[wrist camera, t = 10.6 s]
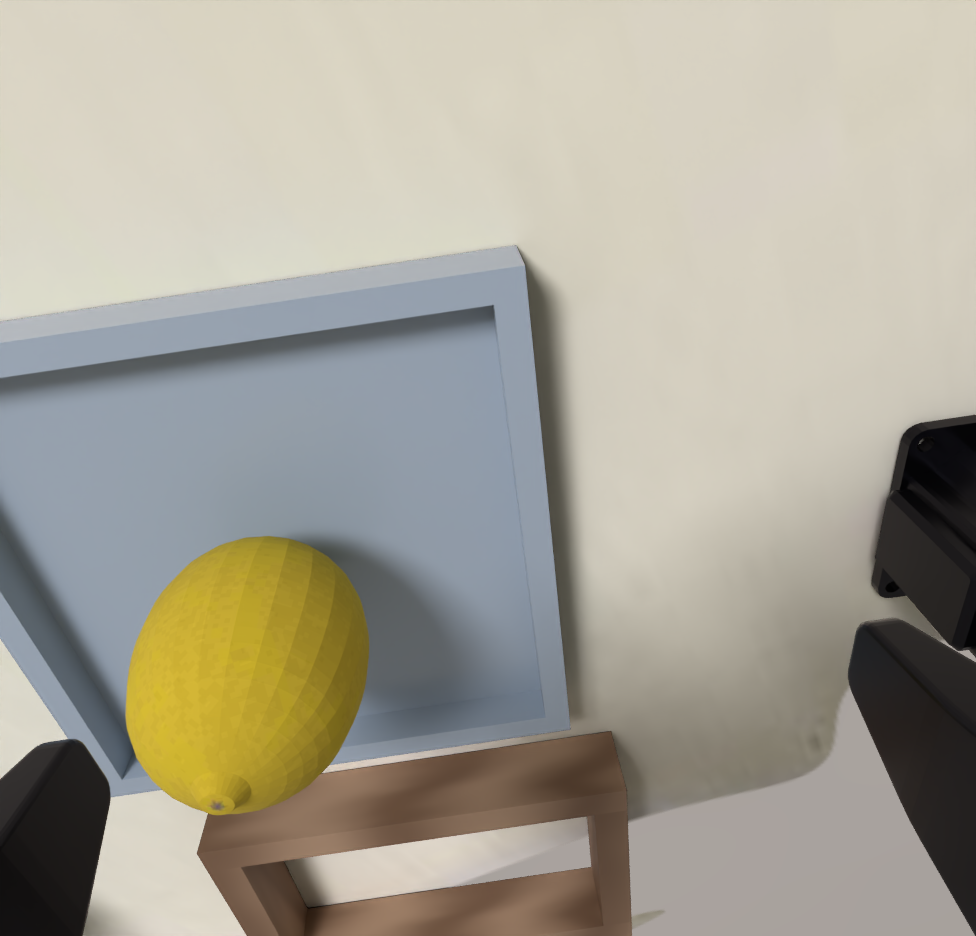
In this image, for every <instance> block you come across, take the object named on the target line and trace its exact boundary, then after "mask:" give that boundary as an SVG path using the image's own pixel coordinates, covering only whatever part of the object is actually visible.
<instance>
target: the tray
mask: <svg viewBox="0 0 976 936" xmlns="http://www.w3.org/2000/svg"><path fill="white" fill-rule="evenodd" d="M261 536H274V537H282V538H289V539H292V540H295V541H298V542H301V543H304V544H307V545H309V546H311V547H313V548H314V549H316V550H318V551H319V552H321V553H323V554H325V555H326V556H328V557H329V558H330V559H331V560H332V561H333V562H334V563H335V564H336V565H337V566H338V567H340V568H341V569H342V570H343V572H344V573H345V574H346V575H347V577H348V578H349V580H350V582H351V583H352V585H353V587H354V588H355V590H356V592H357V594H358V596H359V598H360V600H361V603H362V606H363V611H364V615H365V619H366V623H367V628H368V634H369V660H368V670H367V678H366V685H365V690H364V694H363V698H362V701H361V704H360V707H359V710H358V713H357V715H356V718H355V720H354V722H353V725H352V727H351V729H350V731H349V733H348V735H347V737H346V739H345V741H344V743H343V745H342V747H341V749H340V751H339V752H338V754H337V755H336V757H335V758H334V760H333V761H332V762H331V764H330V765H333V764H340V763H347V762H354V761H360V760H367V759H374V758H381V757H388V756H394V755H401V754H408V753H415V752H422V751H428V750H435V749H442V748H449V747H456V746H462V745H469V744H476V743H483V742H489V741H496V740H503V739H510V738H517V737H523V736H530V735H537V734H544V733H551V732H557V731H564V730H571V728H570V718H569V708H568V698H567V688H566V677H565V667H564V657H563V647H562V637H561V627H560V617H559V606H558V596H557V586H556V576H555V566H554V556H553V545H552V535H551V525H550V515H549V505H548V495H547V484H546V474H545V464H544V454H543V444H542V434H541V423H540V413H539V403H538V393H537V383H536V373H535V362H534V352H533V342H532V332H531V322H530V312H529V301H528V291H527V281H526V271H525V264H524V262H523V260H522V257H521V255H520V253H519V251H518V248H517V246H516V245H514V246H507V247H500V248H494V249H487V250H480V251H473V252H466V253H460V254H453V255H446V256H439V257H433V258H426V259H419V260H412V261H406V262H399V263H392V264H385V265H379V266H372V267H365V268H358V269H352V270H345V271H338V272H331V273H325V274H318V275H311V276H304V277H298V278H291V279H284V280H277V281H271V282H264V283H257V284H250V285H244V286H237V287H230V288H223V289H216V290H210V291H203V292H196V293H189V294H183V295H176V296H169V297H162V298H156V299H149V300H142V301H135V302H129V303H122V304H115V305H108V306H102V307H95V308H88V309H81V310H75V311H68V312H61V313H54V314H48V315H41V316H34V317H27V318H21V319H14V320H7V321H0V639H1V640H2V642H3V643H4V645H5V646H6V648H7V649H8V651H9V652H10V654H11V655H12V657H13V658H14V660H15V661H16V662H17V664H18V665H19V667H20V668H21V670H22V671H23V673H24V674H25V676H26V677H27V679H28V680H29V682H30V683H31V685H32V686H33V688H34V689H35V690H36V692H37V693H38V695H39V696H40V698H41V699H42V701H43V702H44V704H45V705H46V707H47V708H48V710H49V711H50V713H51V714H52V716H53V717H54V719H55V720H56V721H57V723H58V724H59V726H60V727H61V729H62V730H63V732H64V733H65V735H66V736H67V738H68V739H77V740H79V741H81V742H83V744H84V745H85V746H86V747H87V749H88V750H89V752H90V753H91V755H92V756H93V758H94V759H95V761H96V762H97V764H98V766H99V767H100V769H101V770H102V772H103V773H104V775H105V776H106V778H107V780H108V782H109V786H110V792H111V797H116V796H123V795H130V794H136V793H143V792H150V791H157V790H162V789H161V788H160V787H158V786H157V785H156V784H155V783H154V782H153V781H152V779H151V778H150V777H149V775H148V774H147V773H146V771H145V770H144V769H143V767H142V766H141V764H140V763H139V761H138V760H137V758H136V755H135V752H134V749H133V746H132V743H131V740H130V737H129V734H128V731H127V725H126V694H127V680H128V672H129V666H130V662H131V657H132V653H133V650H134V646H135V644H136V641H137V639H138V636H139V634H140V631H141V629H142V627H143V625H144V623H145V621H146V619H147V617H148V615H149V613H150V611H151V609H152V607H153V605H154V603H155V602H156V600H157V599H158V597H159V596H160V594H161V593H162V592H163V590H164V589H165V588H166V587H167V586H168V584H169V583H170V582H171V581H172V580H173V579H174V578H175V577H176V576H177V575H178V574H179V573H180V572H181V571H182V570H183V569H184V568H185V567H186V566H187V565H188V564H189V563H191V562H192V561H193V560H195V559H196V558H198V557H199V556H201V555H203V554H205V553H206V552H208V551H210V550H212V549H213V548H215V547H217V546H219V545H222V544H224V543H228V542H231V541H235V540H238V539H242V538H246V537H261Z"/></svg>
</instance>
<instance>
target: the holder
mask: <svg viewBox="0 0 976 936" xmlns="http://www.w3.org/2000/svg"><path fill="white" fill-rule="evenodd" d="M585 816H587V821H588V833H589V844H590V855H591V867H588V868H581V869H574V870H568V871H561V872H554V873H548V874H540V875H534V876H527V877H520V878H513V879H506V880H500V881H493V882H486V883H479V884H472V885H466V886H459V887H452V888H445V889H438V890H432V891H425V892H418V893H411V894H404V895H398V896H391V897H384V898H377V899H370V900H364V901H357V902H350V903H343V904H336V905H330V906H323V907H316V908H309V909H307V907H306V905H305V903H304V901H303V899H302V897H301V895H300V893H299V891H298V889H297V887H296V885H295V883H294V881H293V879H292V877H291V875H290V873H289V871H288V869H287V867H286V865H285V863H284V861H286V860H293V859H300V858H306V857H313V856H320V855H327V854H334V853H340V852H347V851H354V850H361V849H368V848H374V847H381V846H388V845H395V844H402V843H408V842H415V841H422V840H429V839H436V838H442V837H449V836H456V835H463V834H470V833H476V832H483V831H490V830H497V829H503V828H510V827H517V826H524V825H531V824H537V823H544V822H551V821H558V820H565V819H571V818H578V817H585ZM197 855H198V856H199V858H200V860H201V861H202V863H203V864H204V866H205V868H206V869H207V871H208V873H209V874H210V876H211V878H212V879H213V881H214V883H215V884H216V886H217V887H218V889H219V891H220V892H221V894H222V896H223V897H224V899H225V901H226V902H227V904H228V905H229V907H230V909H231V910H232V912H233V914H234V915H235V917H236V919H237V920H238V922H239V923H240V925H241V927H242V928H243V930H244V932H245V933H246V935H247V936H632V922H631V896H630V869H629V842H628V815H627V790H626V786H625V782H624V779H623V775H622V771H621V768H620V764H619V760H618V756H617V753H616V749H615V745H614V741H613V738H612V734H611V731H610V732H603V733H597V734H590V735H583V736H576V737H569V738H563V739H556V740H549V741H542V742H535V743H529V744H522V745H515V746H508V747H501V748H495V749H488V750H481V751H474V752H467V753H461V754H454V755H447V756H440V757H434V758H427V759H420V760H413V761H406V762H400V763H393V764H386V765H379V766H372V767H366V768H359V769H352V770H345V771H338V772H332V773H325V774H320V775H319V776H318V777H317V778H316V779H315V780H314V781H313V782H312V783H311V784H310V785H309V786H307V787H306V788H304V789H303V790H301V791H300V792H298V793H297V794H295V795H293V796H292V797H290V798H289V799H287V800H285V801H283V802H281V803H278V804H276V805H273V806H271V807H268V808H265V809H262V810H259V811H253V812H247V813H241V814H225V815H212V814H208V815H207V819H206V823H205V826H204V830H203V833H202V837H201V840H200V844H199V848H198V851H197Z"/></svg>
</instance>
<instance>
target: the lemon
mask: <svg viewBox="0 0 976 936" xmlns="http://www.w3.org/2000/svg"><path fill="white" fill-rule="evenodd" d="M368 660H369V634H368V628H367V623H366V619H365V615H364V611H363V606H362V603H361V600H360V598H359V596H358V594H357V592H356V590H355V588H354V587H353V585H352V583H351V582H350V580H349V578H348V577H347V575H346V574H345V573H344V572H343V570H342V569H341V568H340V567H338V566H337V565H336V564H335V563H334V562H333V561H332V560H331V559H330V558H329V557H328V556H326V555H325V554H323V553H321V552H319V551H318V550H316V549H314V548H313V547H311V546H309V545H307V544H304V543H301V542H298V541H295V540H292V539H289V538H282V537H274V536H261V537H246V538H242V539H238V540H235V541H231V542H228V543H224V544H222V545H219V546H217V547H215V548H213V549H212V550H210V551H208V552H206V553H205V554H203V555H201V556H199V557H198V558H196V559H195V560H193V561H192V562H191V563H189V564H188V565H187V566H186V567H185V568H184V569H183V570H182V571H181V572H180V573H179V574H178V575H177V576H176V577H175V578H174V579H173V580H172V581H171V582H170V583H169V584H168V586H167V587H166V588H165V589H164V590H163V592H162V593H161V594H160V596H159V597H158V599H157V600H156V602H155V603H154V605H153V607H152V609H151V611H150V613H149V615H148V617H147V619H146V621H145V623H144V625H143V627H142V629H141V631H140V634H139V636H138V639H137V641H136V644H135V646H134V650H133V653H132V657H131V662H130V666H129V672H128V680H127V694H126V725H127V731H128V734H129V737H130V740H131V743H132V746H133V749H134V752H135V755H136V758H137V760H138V761H139V763H140V764H141V766H142V767H143V769H144V770H145V771H146V773H147V774H148V775H149V777H150V778H151V779H152V781H153V782H154V783H155V784H156V785H157V786H158V787H160V788H161V789H162V790H163V791H164V792H166V793H167V794H168V795H170V796H171V797H172V798H174V799H176V800H178V801H180V802H182V803H184V804H186V805H188V806H190V807H192V808H195V809H198V810H201V811H204V812H206V813H208V814H212V815H225V814H241V813H247V812H253V811H259V810H262V809H265V808H268V807H271V806H273V805H276V804H278V803H281V802H283V801H285V800H287V799H289V798H290V797H292V796H293V795H295V794H297V793H298V792H300V791H301V790H303V789H304V788H306V787H307V786H309V785H310V784H311V783H312V782H313V781H314V780H315V779H316V778H317V777H318V776H319V775H320V774H321V773H322V772H323V771H324V770H325V769H326V768H327V767H328V766H329V765H330V764H331V762H332V761H333V760H334V758H335V757H336V755H337V754H338V752H339V751H340V749H341V747H342V745H343V743H344V741H345V739H346V737H347V735H348V733H349V731H350V729H351V727H352V725H353V722H354V720H355V718H356V715H357V713H358V710H359V707H360V704H361V701H362V698H363V694H364V690H365V685H366V678H367V670H368Z"/></svg>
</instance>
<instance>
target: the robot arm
mask: <svg viewBox="0 0 976 936" xmlns="http://www.w3.org/2000/svg"><path fill="white" fill-rule="evenodd" d="M925 437H926V438H925ZM923 438H925V440H924V441H923V442H922V443H921V444H918V443H919V441H920V440H922V439H923ZM875 558H876V563H875V567H874V572H873V577H872V586H873V587H874V589H875V590H876V591H877V592H878V593H879V595H880V596H882V597H884V598H893V597H900V596H908V598H909V599H910V600H911V601H912V602H913V603H914V604H915V606H916V607H917V608H918V609H919V610H920V611H921V613H922V614H923V615H924V616H925V617H926V618H927V620H928V621H929V622H930V623H931V624H932V625H933V627H934V628H935V629H936V630H937V631H938V632H939V633H940V635H941V636H942V637H943V638H944V639H945V640H946V642H947V643H948V644H949V645H951V646H952V647H953V648H955V649H956V650H958V651H963V650H970V652H971V653H972V654H973V655H974V656H975V657H976V415H971V416H964V417H958V418H951V419H944V420H937V421H931V422H924V423H919V424H916V425H914V426H912V427H911V428H909V429H908V430H907V431H906V432H905V433H904V435H903V437H902V439H901V443H900V448H899V453H898V457H897V462H896V467H895V472H894V477H893V481H892V486H891V491H890V495H889V497H888V499H887V502H886V507H885V512H884V517H883V522H882V526H881V531H880V536H879V541H878V546H877V551H876V555H875ZM848 680H849V685H850V688H851V691H852V694H853V696H854V698H855V701H856V703H857V705H858V707H859V709H860V712H861V714H862V716H863V718H864V721H865V723H866V725H867V727H868V730H869V732H870V734H871V736H872V739H873V741H874V743H875V745H876V748H877V750H878V752H879V754H880V757H881V759H882V761H883V763H884V765H885V768H886V770H887V772H888V774H889V777H890V779H891V781H892V783H893V786H894V788H895V790H896V792H897V794H898V797H899V799H900V801H901V803H902V805H903V807H904V809H905V812H906V814H907V816H908V818H909V820H910V822H911V824H912V825H913V827H914V829H915V831H916V833H917V835H918V836H919V838H920V840H921V842H922V844H923V845H924V847H925V849H926V850H927V852H928V854H929V856H930V858H931V859H932V861H933V863H934V865H935V866H936V868H937V870H938V871H939V873H940V875H941V877H942V879H943V880H944V882H945V884H946V885H947V887H948V889H949V891H950V893H951V894H952V896H953V898H954V899H955V901H956V903H957V905H958V906H959V908H960V910H961V912H962V913H963V915H964V916H965V919H966V920H967V922H968V924H969V926H970V927H971V929H972V931H973V933H974V934H975V936H976V662H974V661H972V660H971V659H969V658H967V657H965V656H964V655H962V654H960V653H958V652H956V651H955V650H953V649H951V648H950V647H948V646H946V645H945V644H943V643H941V642H939V641H938V640H936V639H934V638H933V637H931V636H929V635H927V634H926V633H924V632H922V631H921V630H919V629H917V628H915V627H914V626H912V625H910V624H908V623H907V622H905V621H903V620H900V619H897V618H887V619H880V620H874V621H867V622H863V623H861V624H860V626H859V627H858V628H857V631H856V635H855V639H854V644H853V649H852V654H851V659H850V664H849V669H848ZM110 797H111V792H110V786H109V782H108V780H107V778H106V776H105V775H104V773H103V772H102V770H101V769H100V767H99V766H98V764H97V762H96V761H95V759H94V758H93V756H92V755H91V753H90V752H89V750H88V749H87V747H86V746H85V745H84V744H83V742H81V741H79V740H77V739H67V740H60V741H53V742H47V743H43V744H41V745H39V746H37V747H35V748H34V749H33V750H32V751H30V752H29V753H28V754H27V755H26V756H25V757H24V758H23V759H22V760H21V761H19V762H18V763H17V764H16V765H15V766H14V767H13V768H12V769H11V770H10V771H9V772H8V773H6V774H5V775H4V776H3V777H2V778H1V779H0V936H83V931H84V927H85V923H86V918H87V914H88V909H89V904H90V899H91V894H92V889H93V884H94V879H95V874H96V869H97V865H98V860H99V855H100V850H101V845H102V840H103V835H104V830H105V825H106V820H107V815H108V810H109V806H110Z"/></svg>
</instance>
